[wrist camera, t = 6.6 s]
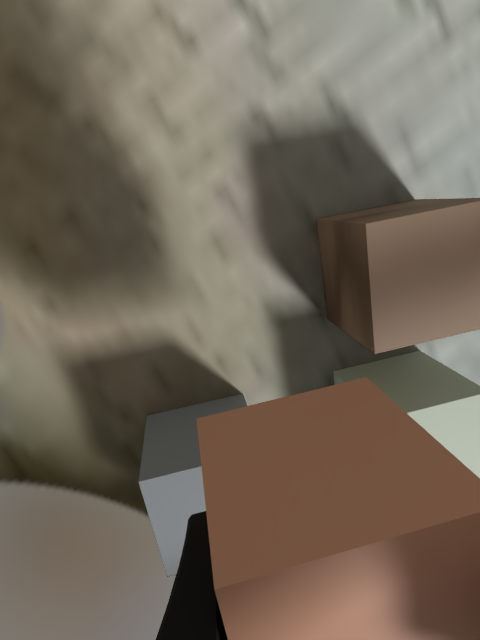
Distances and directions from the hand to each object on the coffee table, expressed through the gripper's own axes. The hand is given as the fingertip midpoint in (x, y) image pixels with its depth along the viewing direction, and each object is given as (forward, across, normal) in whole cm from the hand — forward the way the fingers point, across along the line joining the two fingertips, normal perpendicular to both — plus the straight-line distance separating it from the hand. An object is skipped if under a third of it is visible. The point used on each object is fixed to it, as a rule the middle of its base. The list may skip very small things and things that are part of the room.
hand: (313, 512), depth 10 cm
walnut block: (+10, -7, -4) cm, 13 cm away
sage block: (+10, -7, +4) cm, 13 cm away
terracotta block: (+2, 0, 0) cm, 2 cm away
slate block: (+10, +3, +4) cm, 11 cm away
